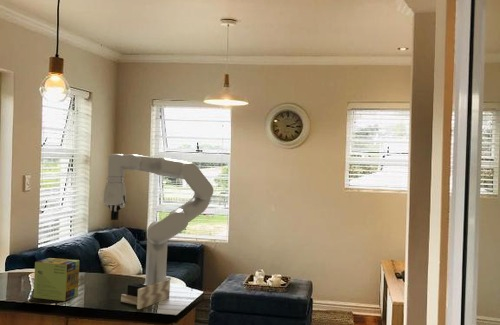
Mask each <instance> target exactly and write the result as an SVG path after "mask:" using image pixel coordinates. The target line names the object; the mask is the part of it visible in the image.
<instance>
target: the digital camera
mask: <svg viewBox="0 0 500 325" xmlns="http://www.w3.org/2000/svg"><path fill="white" fill-rule="evenodd" d="M146 286H147V285H143V283H136V282H133V283H128V284H127V294H126V295H131V296H136V297H138V289H140V288H143V287H146Z"/></svg>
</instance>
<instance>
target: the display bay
mask: <svg viewBox="0 0 500 325" xmlns="http://www.w3.org/2000/svg"><path fill="white" fill-rule="evenodd" d="M170 289H171V280H169V279H167V280H164V281H161V282H158V283H155V284H152V285H149V286H146V287H143V288H140V289H138V297H136V296H131V295H127V294H125V293H122V294H120V302H121V303H126V304H129V305H136V309H137V310H141V309H144V308H146V307H149V306H152V305H154V304H157V303H159V302H162V301H164V300H167V299H170V292H171V290H170Z"/></svg>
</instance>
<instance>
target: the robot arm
mask: <svg viewBox="0 0 500 325" xmlns="http://www.w3.org/2000/svg"><path fill="white" fill-rule="evenodd" d="M126 170H129V171H139V172H145V173H150V174H155V175H157V176H161V177H166V178H167V177H168V178H173V179H174V178H175V179H180V180H185V181H184V182H186V184H187V185H188V186H189V187H190V189H191V190H192V191H193V192H194V194H193V196H192V198H190V200H188V201H186V202H185V203H184V204H182V205H180V206H179V207H177V208H175V209H173V210H171V211H170V212H169V213H168V215H167V216H165V217H164V218H162V219H161V220H156V221H155V220H154V221H153V222H151V223H150V224H149V226H148V228H147V232H146V234H147V236H146V259H145V260H146V261H145V283H144V284H143V283H142V285H147V286H149V285H152V284H155V283H158V282H161V281H164V280H167V279H169V280H170V281H171V279H172V278H171V276H167V261H168V260H167V259H168V241H169V240H171V239H173V238H174V237H175V236H177V235H178V234H180V233H181V232H183V231H184V230H185V229H186V228H187V227H188V225H189V223H190V222H191V221H193V220H194V219H196V218H197V217H198V216H200V215H201V214H203V213H204V212H205V211H206V209H207V208H208V206H209V205H210V203H211V197H212V196H213V194H214V186H213V185H212V184H211V182H210V181H209V179H207V177H206V176H205V175H204V173H203V172H202V170H200V168H199V166H198V165H196V164H195V163H194V162H190V161H184V160H179V159H174V158H173V159H172V158H167V157H153V156H145V155H139V154H134V153H132V154H123V153H121V154H120V153H110V154H109V155H108V167H107V177H106V181H107V182H106V184H105V187H104V193H103V204H104V206H105V207H108V209H109V210H110V220H111V221H117V220H119V212H120V211H121V209H123V208H124V209H125V208H126V202H127V186H126V183H125V173H126Z"/></svg>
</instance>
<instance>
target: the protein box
mask: <svg viewBox="0 0 500 325" xmlns="http://www.w3.org/2000/svg"><path fill="white" fill-rule="evenodd" d="M33 279H34V280H33V281H34V282H33V296H32V297H33V299H42V300H43V299H44V300H51V301H52V300H53V301H60V302H61V301H62V302H66V301H68V300H71V299H73V298H76V297H77V296H79V280H80V260H79V259H67V258H54V257H53V258H52V257H48V258H44V259H40V260H36V261H35V262H34V278H33Z"/></svg>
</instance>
